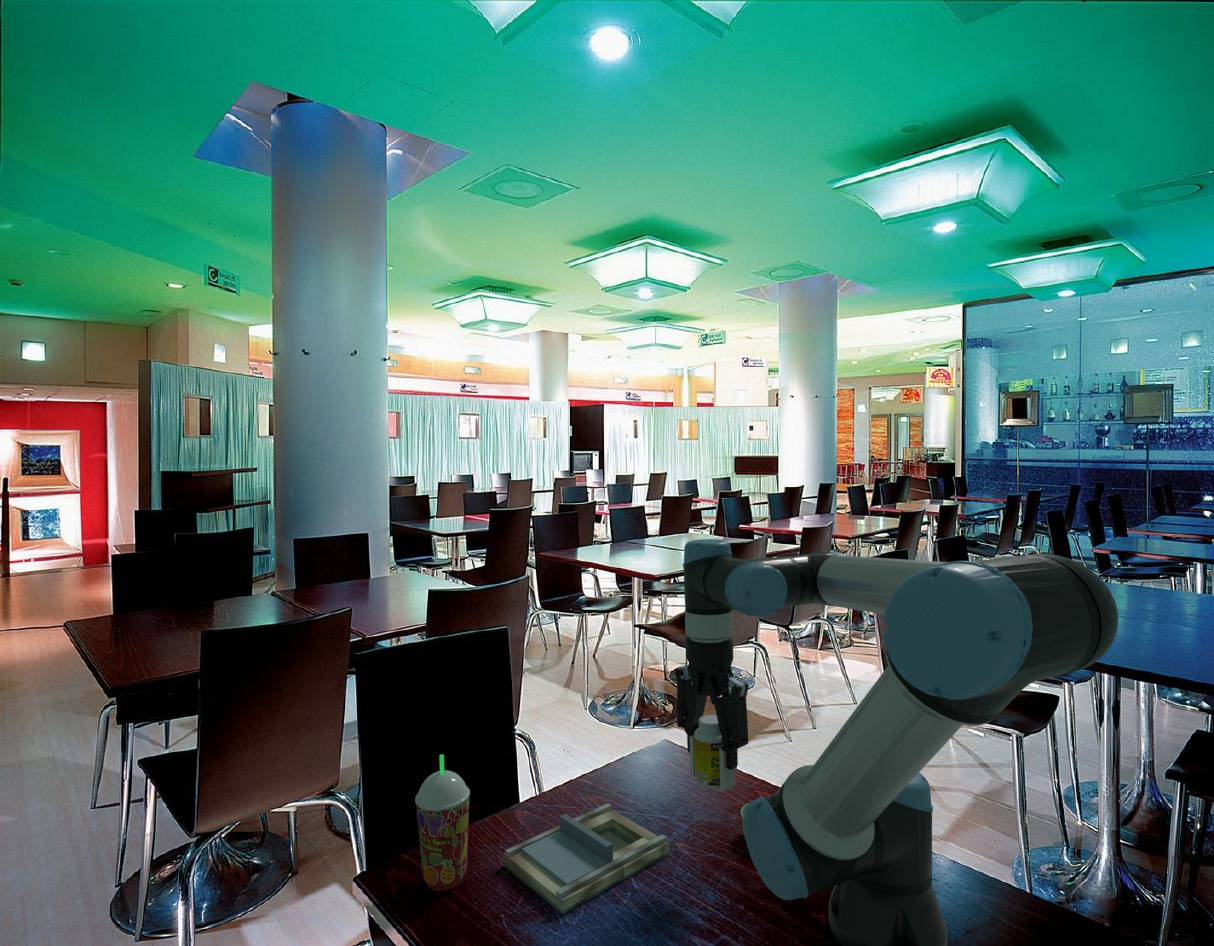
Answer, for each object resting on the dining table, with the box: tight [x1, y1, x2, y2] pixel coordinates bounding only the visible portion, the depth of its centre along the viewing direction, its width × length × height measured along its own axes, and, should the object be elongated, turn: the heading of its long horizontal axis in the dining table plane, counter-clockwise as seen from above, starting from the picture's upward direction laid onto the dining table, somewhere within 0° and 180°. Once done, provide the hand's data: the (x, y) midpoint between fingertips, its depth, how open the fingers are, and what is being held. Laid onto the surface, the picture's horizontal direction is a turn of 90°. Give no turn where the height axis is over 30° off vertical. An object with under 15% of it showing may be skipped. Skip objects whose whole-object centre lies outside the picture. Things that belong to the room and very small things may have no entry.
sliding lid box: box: [503, 802, 670, 915], centre depth 113 cm, size 22×16×3 cm
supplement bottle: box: [694, 714, 723, 790], centre depth 110 cm, size 6×6×10 cm
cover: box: [522, 813, 613, 886], centre depth 110 cm, size 9×12×3 cm
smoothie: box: [414, 754, 471, 892], centre depth 108 cm, size 8×8×20 cm
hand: (712, 780), depth 110 cm, fingers closed on supplement bottle, 6 cm apart
